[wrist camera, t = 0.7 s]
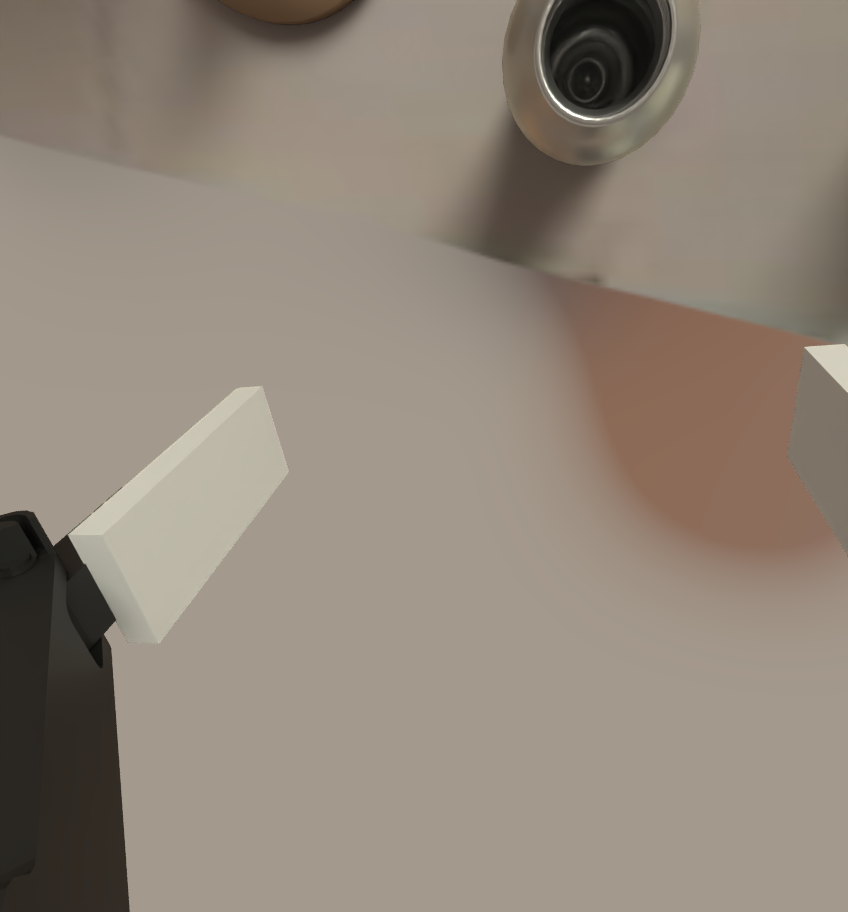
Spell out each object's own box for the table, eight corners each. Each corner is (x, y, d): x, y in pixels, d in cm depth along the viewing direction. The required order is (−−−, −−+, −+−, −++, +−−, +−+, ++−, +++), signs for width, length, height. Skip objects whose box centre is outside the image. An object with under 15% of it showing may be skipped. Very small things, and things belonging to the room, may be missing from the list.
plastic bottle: (523, 151, 35) (478, 188, 18) (530, 6, 31) (482, -119, 14) (639, 148, 33) (711, 186, 16) (659, -3, 30) (775, -151, 13)
